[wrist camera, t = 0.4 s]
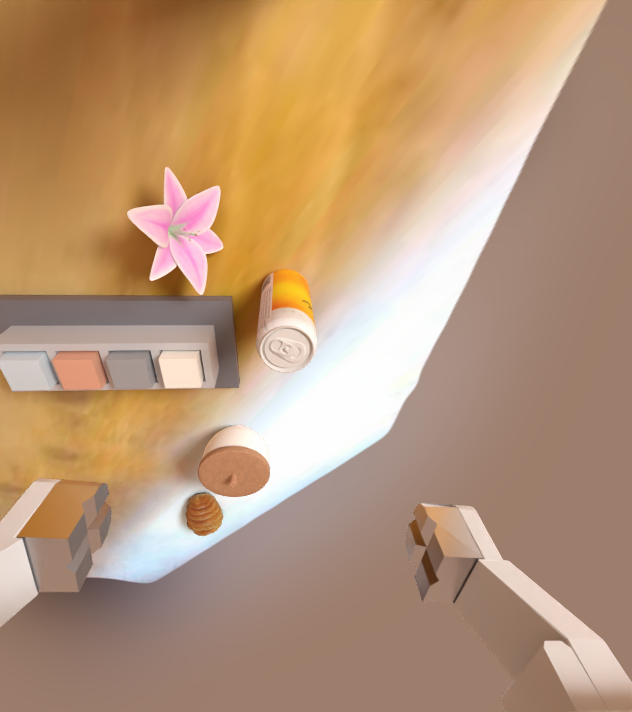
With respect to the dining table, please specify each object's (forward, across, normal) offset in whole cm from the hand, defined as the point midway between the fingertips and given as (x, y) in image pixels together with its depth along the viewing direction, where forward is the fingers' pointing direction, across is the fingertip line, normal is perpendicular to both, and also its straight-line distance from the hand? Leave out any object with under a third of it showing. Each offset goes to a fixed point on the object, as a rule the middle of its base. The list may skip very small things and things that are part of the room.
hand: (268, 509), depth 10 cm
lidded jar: (+43, +4, +34) cm, 55 cm away
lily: (+39, +11, -1) cm, 41 cm away
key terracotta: (+37, +23, +17) cm, 47 cm away
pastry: (+46, +10, +53) cm, 71 cm away
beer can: (+40, -1, +6) cm, 41 cm away
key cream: (+37, +11, +16) cm, 42 cm away
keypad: (+41, +20, +17) cm, 48 cm away
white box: (+37, +29, +18) cm, 50 cm away
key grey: (+37, +17, +17) cm, 44 cm away
